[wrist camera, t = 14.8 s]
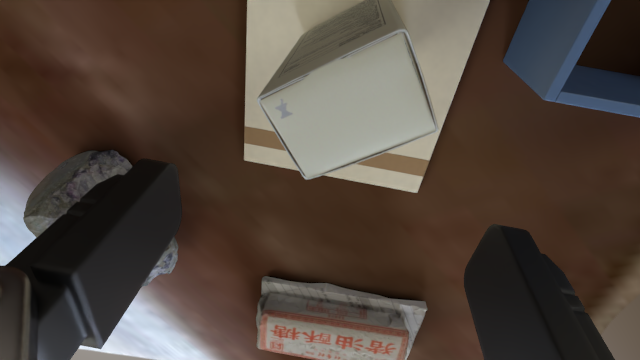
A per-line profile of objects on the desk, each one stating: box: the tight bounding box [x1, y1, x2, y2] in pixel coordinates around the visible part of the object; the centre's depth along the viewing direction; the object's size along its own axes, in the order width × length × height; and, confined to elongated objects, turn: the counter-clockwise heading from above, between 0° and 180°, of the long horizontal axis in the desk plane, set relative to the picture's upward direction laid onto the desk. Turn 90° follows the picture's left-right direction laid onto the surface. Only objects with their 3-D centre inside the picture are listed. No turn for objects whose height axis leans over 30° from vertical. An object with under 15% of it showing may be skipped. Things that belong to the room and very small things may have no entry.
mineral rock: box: [23, 150, 178, 286], centre depth 31 cm, size 13×11×10 cm
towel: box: [244, 0, 490, 193], centre depth 24 cm, size 15×22×1 cm
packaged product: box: [256, 276, 428, 360], centre depth 39 cm, size 18×5×10 cm
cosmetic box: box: [257, 0, 439, 180], centre depth 19 cm, size 6×4×12 cm
